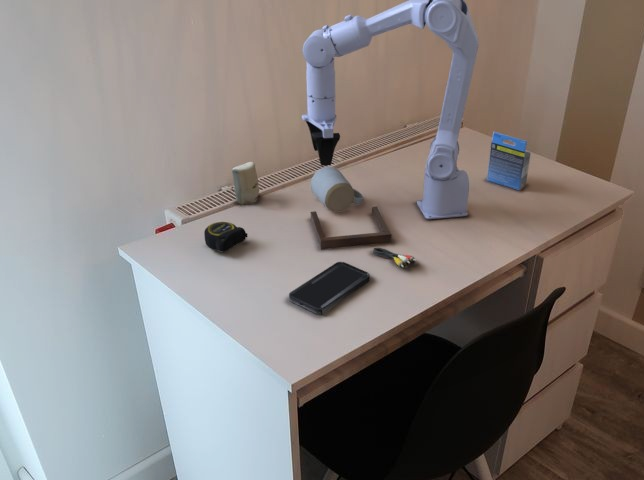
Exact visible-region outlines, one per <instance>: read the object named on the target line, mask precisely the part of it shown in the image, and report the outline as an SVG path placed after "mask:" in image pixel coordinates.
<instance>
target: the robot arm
mask: <svg viewBox="0 0 644 480" xmlns="http://www.w3.org/2000/svg"><path fill="white" fill-rule="evenodd" d="M406 25H412V26H415V27H417V28H419V29H420V30H421V29H422V30H424V29H425V27H426V26H427V28H428V30H430V32H432V33H433V34H434V35H436V36H437V37H439V38H440V39H442V40H443V41H445V43H446V44H447V45H448V47H449V48H450V49H451V51H452V58H451V63H450V68H449V73H448V77H447V83H446V88H445V92H444V98H443V102H442V107H441V112H440V116H439V123H438V127H437V132H436V135H435V137H434V138H433V139H432V141H431V142H430V146H429V153H428V157H427V158H426V162H425V168H424V178H423V179H424V180H423V192H422V200H417V201H416V205H417V206H418V209H420V211H421V213H422V214H423V216H424V218H425V219H426V220H437V219H449V218H459V217H461V218H462V217H467V216H468V215H469V214H468V203H469V196H470V195H469V194H470V178H469V174H468V172H467V171H466V170H464V169H459V168H458V158H459V157H458V156H459V154H460V145H459V144H460V143H459V141H458V140H459V136H460V132H461V127H462V124H463V123H462V122H463V118H464V113H465V108H466V104H467V100H468V95H469V91H470V86H471V82H472V78H473V73H474V69H475V63H476V59H477V54H478V51H479V46H480V45H479V44H480V42H479V41H480V40H479V36H478V33H477V31H476V28H475V25H474V22H473V19H472V17H471V14H470V9H469V6H468V3H467V2H466V1H465V0H407V1H406V0H405V1H404V2H401V3H400V4H397V5H395V6H393V7H391V8H389V9H386V10H384V11H382V12H380V13H377V14H376V15H373V16H371V17H369V18H366V17H363V16H361V15H359V14H357V15H354V16H353V15H352V14H348V15H346V16H345V17H344V19H343V20H342V21H340V22H338V23H335V24H333V25H330V26H329V24H326V25H324V26H322V29H320V28H319V29H316V30H314V31H313V32H311V33H310V35H309V36H308V38H307V39H306V40H305V41H304V43H303V47H302V56H303V58H304V60H305V61H306V72H305V74H306V75H305V77H306V102H307V103H306V105H307V107H306V109H307V113H305V114H302V115H301V119H302V121H303V122H305V123H306V125H307V127H308V130H309V134H310V138H311V144H312V147H313V149H314V151H315V152H317V154H318V155H317V156H318V159H319V163H320V166H322V167H327V166H331V165H332V162H333V158H334V154H335V150H336V147H337V144H338V143H339V141H340V139H341V134H340V132H334V126H335V124H336V122H337V114H336V70H335V58H342V57H343V56H347V55H348V54H352V53H353V52H356V51H358V50H361V49H363V48H366V47H369V46H370V44H371V42H372V39H373V37H376V36H378V35H381V34H384V33H387V32H389V31H393V30H396V29H398V28H402V27H404V26H406Z"/></svg>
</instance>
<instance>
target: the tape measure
mask: <svg viewBox="0 0 644 480" xmlns="http://www.w3.org/2000/svg"><path fill="white" fill-rule="evenodd" d="M203 232H204V233H203V234H204V242H205V244H206V245H205V246H207V248H209V249H211V250H212V251H213V250H214V251H218V252H221V253H225V252H228V251H229V250H230V249H232V248H234V247H235V246H237V245H239V244H241V243H243V242H244V241H245V240H246V239H247V238H248V233H247V232H246V230H245V229H244V228H243V227H241V226H236V224H235V223H232V222H228V221H218V222H213V223H211V224H209V225H208V226H207V227H206V228H205V229H204V231H203Z"/></svg>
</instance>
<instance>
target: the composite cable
mask: <svg viewBox="0 0 644 480" xmlns="http://www.w3.org/2000/svg"><path fill="white" fill-rule="evenodd" d="M372 253H373V254H374V255H375V256H380V257H383V258H389V259H391V260H392V261H393V262H394V264H395V265H397V266H398V267H400V268H402V269H404V268H406V269H407V270H408V268H409V266H412V265H415V263H416V262H417V259H416V257H414V256H413V255H408V254H399V253H394V252H392V251H390V250H388V249H386V248H384V247H383V248H382V247H374V248H373V252H372Z"/></svg>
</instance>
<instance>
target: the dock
mask: <svg viewBox="0 0 644 480" xmlns="http://www.w3.org/2000/svg"><path fill="white" fill-rule="evenodd" d="M309 213H310V222H311V225H312V227H313V230H314V231H313V232H314V234H315V236H316V239H317V240H316V241H317V242H318V245H319V247H320V250H330V249H341V248H351V247H361V246H362V247H363V246H372V245H381V244H391V243H392V233H391V231H390V229H389V227H388V225H387V223H386V221H385V219H384V217H383V215H382V213H381V211H380V209H379V207H378V206H377V205H375V206H371V216H372V219H373V220H374V223H375V225H376V227H377V228H378V231H379V232H367V233H359V234H348V235H347V234H346V235H337V236H327V237H326V235H325V232H324V229H323V227H322V224H321V221H320V218H319V216H318V213H317V211H315V210H314V211H310V212H309Z"/></svg>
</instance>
